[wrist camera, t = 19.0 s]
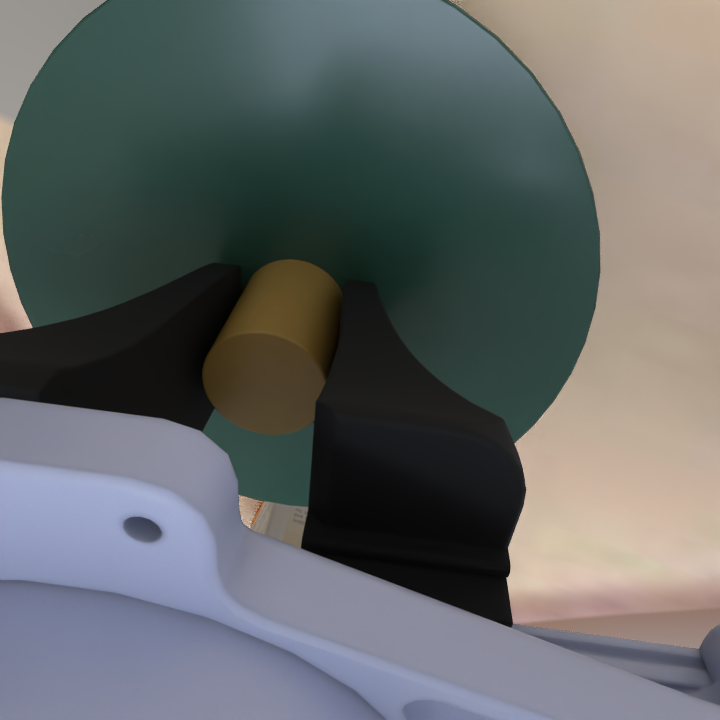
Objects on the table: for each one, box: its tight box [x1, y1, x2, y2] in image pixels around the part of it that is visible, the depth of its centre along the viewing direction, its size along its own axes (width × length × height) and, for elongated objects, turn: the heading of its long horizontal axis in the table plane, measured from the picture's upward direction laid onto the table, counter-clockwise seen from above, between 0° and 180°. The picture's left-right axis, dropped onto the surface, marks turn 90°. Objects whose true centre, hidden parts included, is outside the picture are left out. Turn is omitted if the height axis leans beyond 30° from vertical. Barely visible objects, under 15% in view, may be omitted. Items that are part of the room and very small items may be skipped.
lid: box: [2, 0, 600, 507], centre depth 13 cm, size 14×14×4 cm
